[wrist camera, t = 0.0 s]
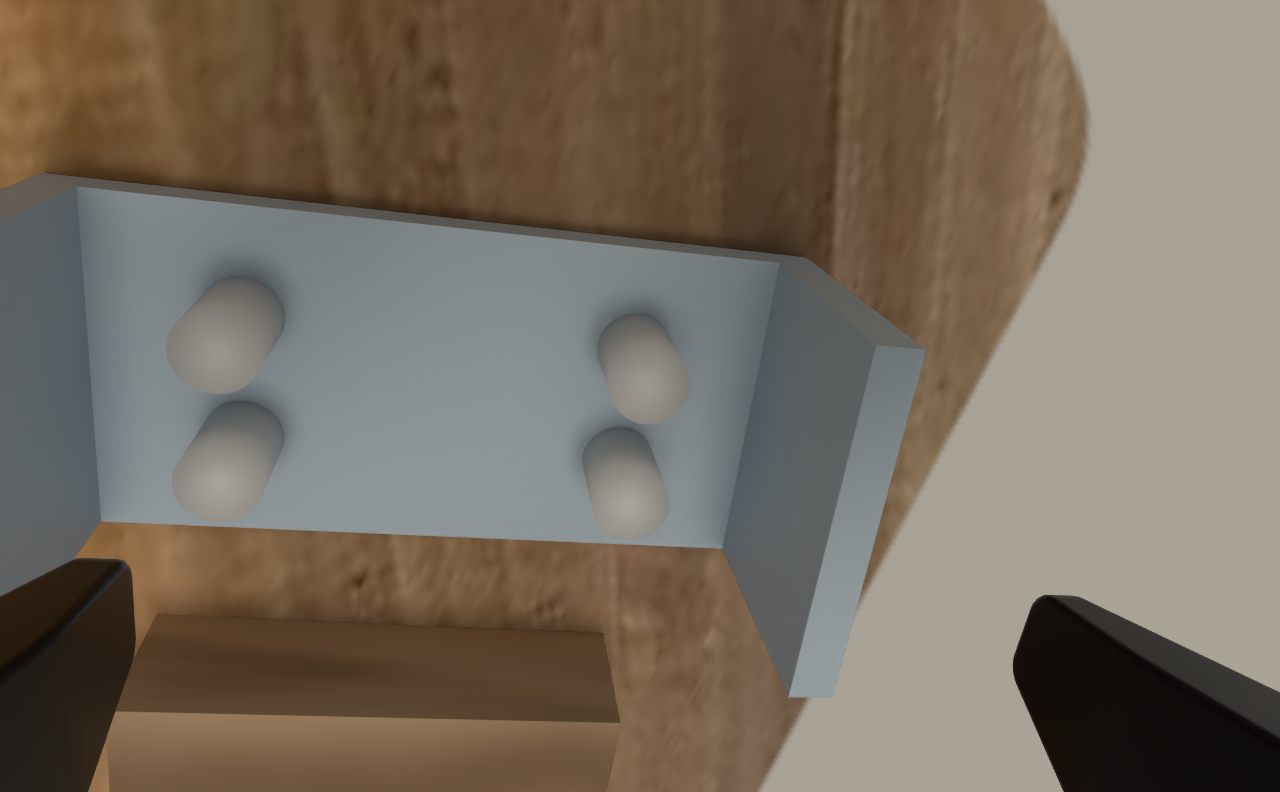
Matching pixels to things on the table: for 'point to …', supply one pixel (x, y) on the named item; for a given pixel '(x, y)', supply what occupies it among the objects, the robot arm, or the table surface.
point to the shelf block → (362, 709)
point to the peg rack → (442, 390)
